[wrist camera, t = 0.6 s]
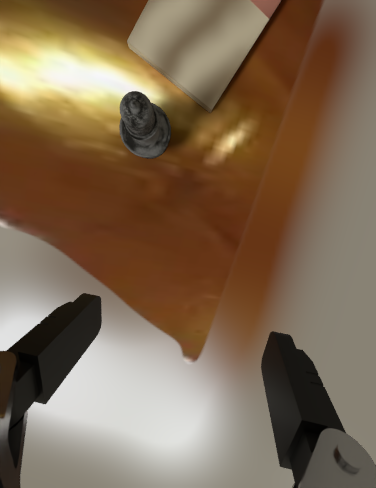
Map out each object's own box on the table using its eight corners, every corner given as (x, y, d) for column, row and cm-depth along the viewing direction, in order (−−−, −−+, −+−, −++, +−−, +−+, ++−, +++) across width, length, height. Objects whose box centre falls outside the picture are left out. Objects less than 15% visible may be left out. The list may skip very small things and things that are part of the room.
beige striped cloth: (129, 47, 26) (127, 40, 25) (217, -119, 23) (219, -136, 21) (210, 113, 28) (211, 109, 27) (299, -29, 25) (306, -40, 24)
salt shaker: (177, 124, 28) (181, 80, 17) (161, 168, 29) (155, 155, 18) (134, 103, 27) (106, 42, 16) (119, 150, 28) (84, 124, 17)
